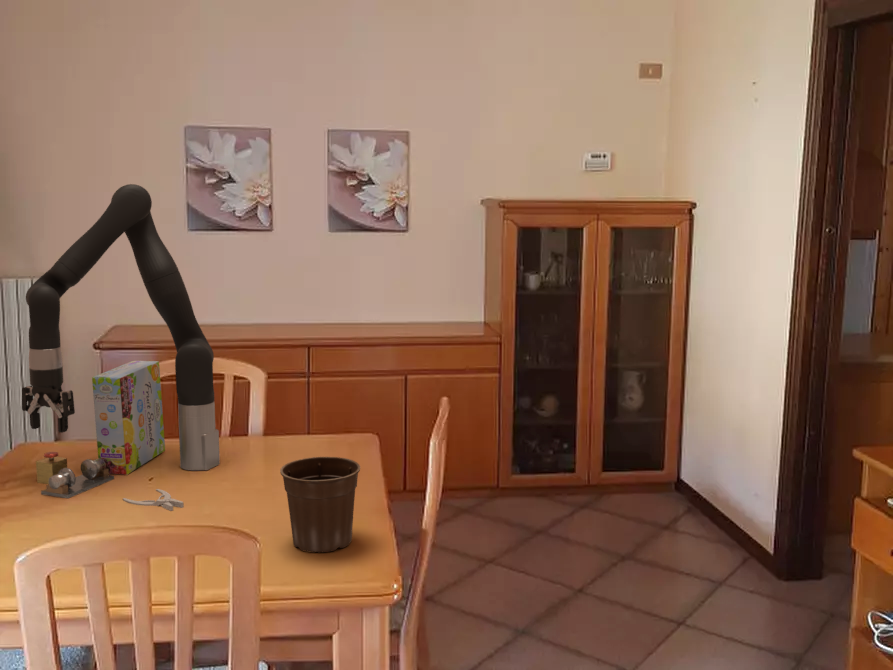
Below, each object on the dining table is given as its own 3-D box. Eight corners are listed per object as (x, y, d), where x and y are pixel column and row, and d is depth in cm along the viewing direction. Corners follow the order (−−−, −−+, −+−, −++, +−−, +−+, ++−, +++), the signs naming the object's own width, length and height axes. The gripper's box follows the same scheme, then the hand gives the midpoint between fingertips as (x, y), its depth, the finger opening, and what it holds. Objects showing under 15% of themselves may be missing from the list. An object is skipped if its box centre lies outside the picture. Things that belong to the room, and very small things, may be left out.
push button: (68, 479, 231) (66, 452, 230) (53, 485, 226) (51, 457, 225) (52, 477, 233) (50, 449, 232) (37, 482, 228) (35, 455, 227)
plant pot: (278, 558, 183) (276, 480, 180) (284, 529, 199) (283, 456, 196) (360, 556, 184) (360, 478, 182) (360, 527, 200) (360, 455, 198)
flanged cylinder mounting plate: (88, 475, 234) (87, 453, 233) (114, 478, 231) (113, 456, 231) (41, 494, 219) (39, 471, 219) (67, 498, 217) (66, 475, 216)
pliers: (158, 485, 223) (195, 498, 214) (158, 491, 224) (195, 505, 214) (121, 495, 216) (158, 509, 206) (121, 501, 216) (158, 516, 207)
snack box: (136, 450, 257) (132, 359, 252) (166, 452, 255) (162, 360, 251) (95, 473, 235) (90, 375, 231) (127, 475, 234) (122, 376, 230)
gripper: (80, 365, 226) (83, 429, 229) (34, 360, 231) (38, 423, 233) (57, 370, 219) (60, 437, 222) (11, 365, 224) (14, 430, 227)
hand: (49, 430), depth 228 cm, fingers open, 8 cm apart
